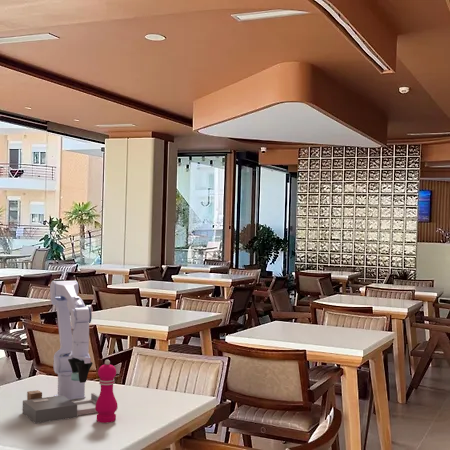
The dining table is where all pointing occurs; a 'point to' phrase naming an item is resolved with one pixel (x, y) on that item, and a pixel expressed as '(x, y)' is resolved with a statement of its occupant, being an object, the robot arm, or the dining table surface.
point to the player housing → (49, 409)
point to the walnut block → (34, 395)
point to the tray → (87, 405)
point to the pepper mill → (106, 394)
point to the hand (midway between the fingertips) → (79, 380)
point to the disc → (75, 376)
